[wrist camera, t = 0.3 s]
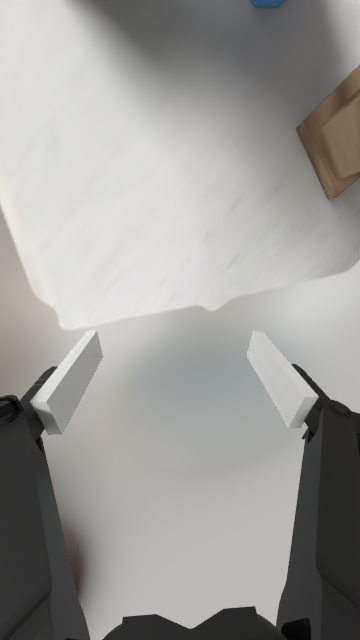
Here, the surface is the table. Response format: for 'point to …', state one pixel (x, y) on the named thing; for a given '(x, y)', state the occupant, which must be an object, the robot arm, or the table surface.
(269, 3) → the water bottle
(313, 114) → the stand
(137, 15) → the table surface
